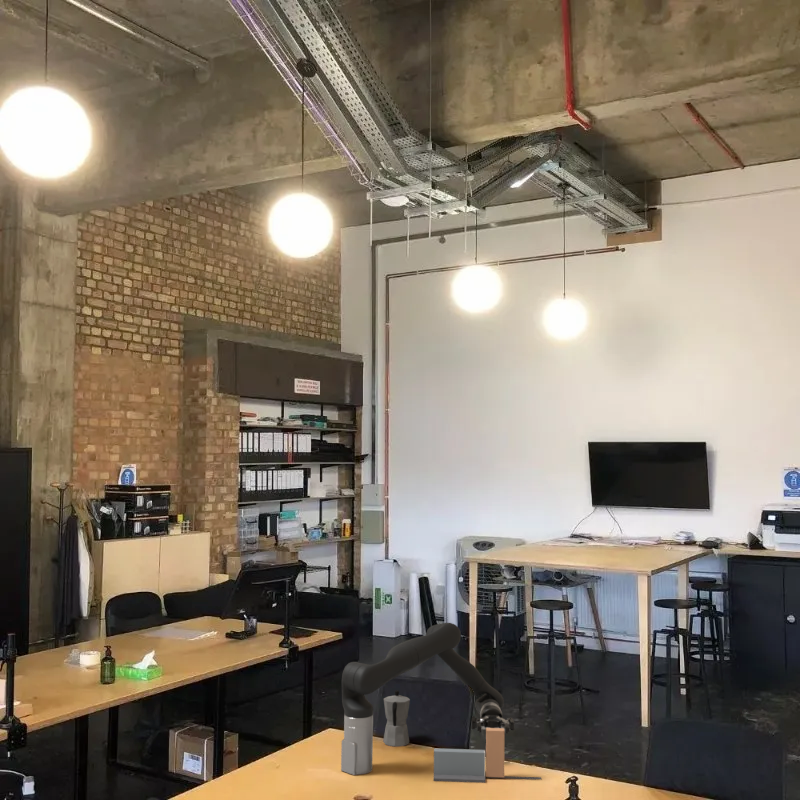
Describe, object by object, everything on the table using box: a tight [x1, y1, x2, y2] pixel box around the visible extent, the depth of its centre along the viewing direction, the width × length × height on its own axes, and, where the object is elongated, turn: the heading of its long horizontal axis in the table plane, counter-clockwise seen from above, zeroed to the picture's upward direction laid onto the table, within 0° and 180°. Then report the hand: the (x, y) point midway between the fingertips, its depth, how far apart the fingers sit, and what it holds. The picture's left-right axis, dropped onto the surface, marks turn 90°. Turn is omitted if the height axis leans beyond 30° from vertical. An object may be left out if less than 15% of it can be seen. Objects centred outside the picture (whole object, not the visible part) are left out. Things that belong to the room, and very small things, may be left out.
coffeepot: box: [383, 689, 411, 748], centre depth 302 cm, size 15×9×18 cm, turn 175°
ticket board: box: [432, 747, 542, 784], centre depth 269 cm, size 34×10×8 cm, turn 86°
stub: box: [485, 728, 505, 778], centre depth 269 cm, size 6×3×14 cm, turn 86°
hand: (493, 729), depth 280 cm, fingers open, 8 cm apart
